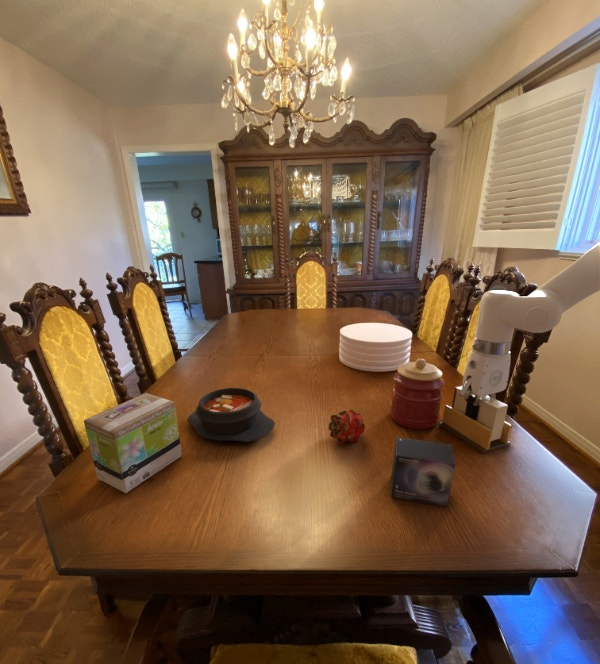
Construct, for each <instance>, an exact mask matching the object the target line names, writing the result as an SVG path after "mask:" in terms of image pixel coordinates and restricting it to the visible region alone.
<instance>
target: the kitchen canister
mask: <svg viewBox="0 0 600 664" xmlns="http://www.w3.org/2000/svg"><path fill="white" fill-rule="evenodd" d="M442 377H443V371H442V370H440V369H439V368H437V366H435V365H434V364H432V363H428V362H427V361H426V360H425V359H424V358H417V359H416V360H415V361H409V362H408V363H405V364H404V365H401V366H400V367H398V370H397V372H396V373H395V374H394V375H393V381H394V385H393V386H392V398H391V405H390V417H391V419H392V420H393V422H395V423H396V424H398V425H400V426H402V427H405V428H407V429H413V430H427V429H432V428H433V427H435V426H436V425H437V424H438V421H439V420H440V415H441V414H440V413H441V412H440V410H441V404H442V398H443V395H444V393H443V390H442V388H444V386H445V384H446V382H445V380H444V379H443V378H442Z"/></svg>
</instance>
